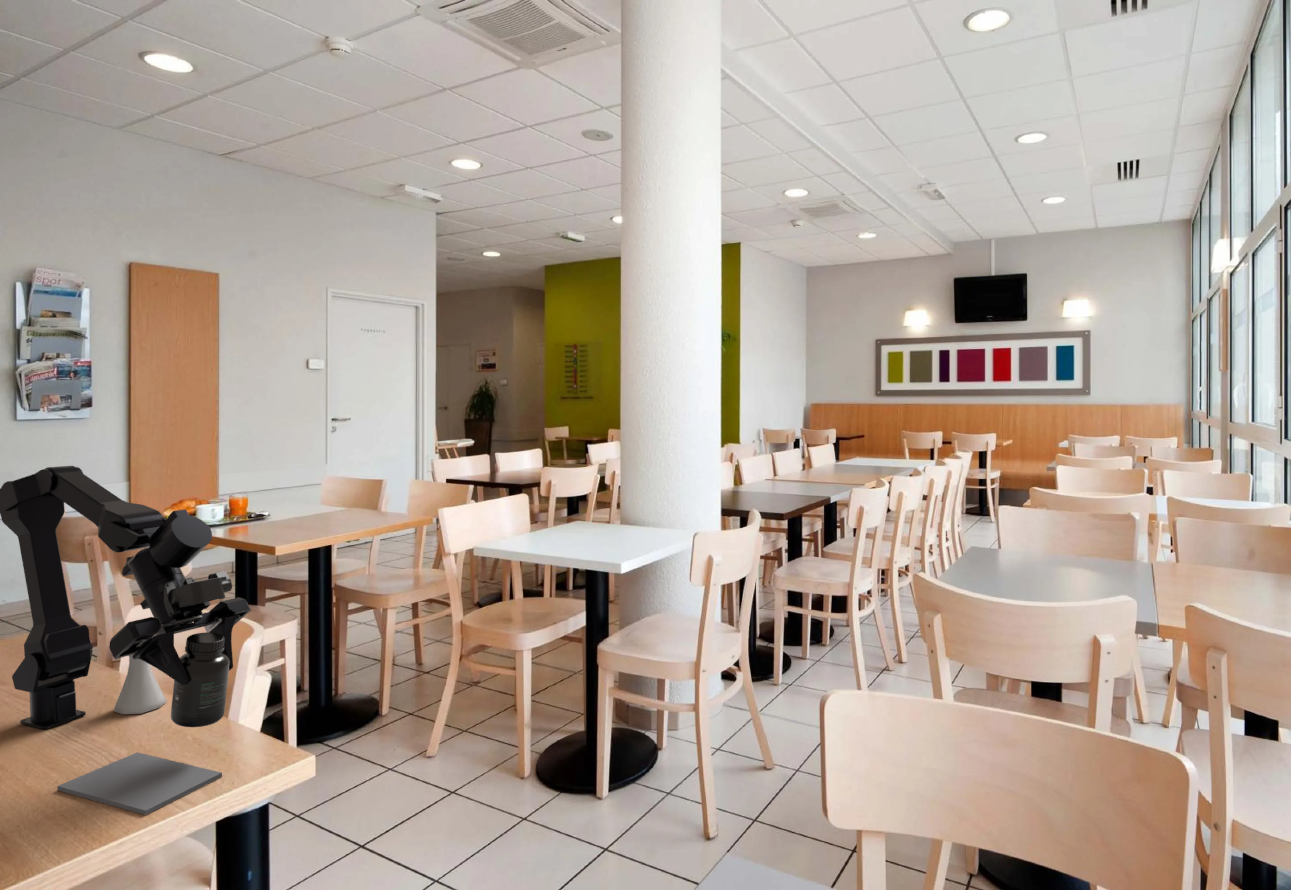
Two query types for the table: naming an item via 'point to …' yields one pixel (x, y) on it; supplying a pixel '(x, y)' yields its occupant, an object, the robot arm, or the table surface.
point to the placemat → (140, 782)
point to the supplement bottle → (201, 682)
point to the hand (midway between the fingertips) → (208, 676)
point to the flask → (139, 690)
